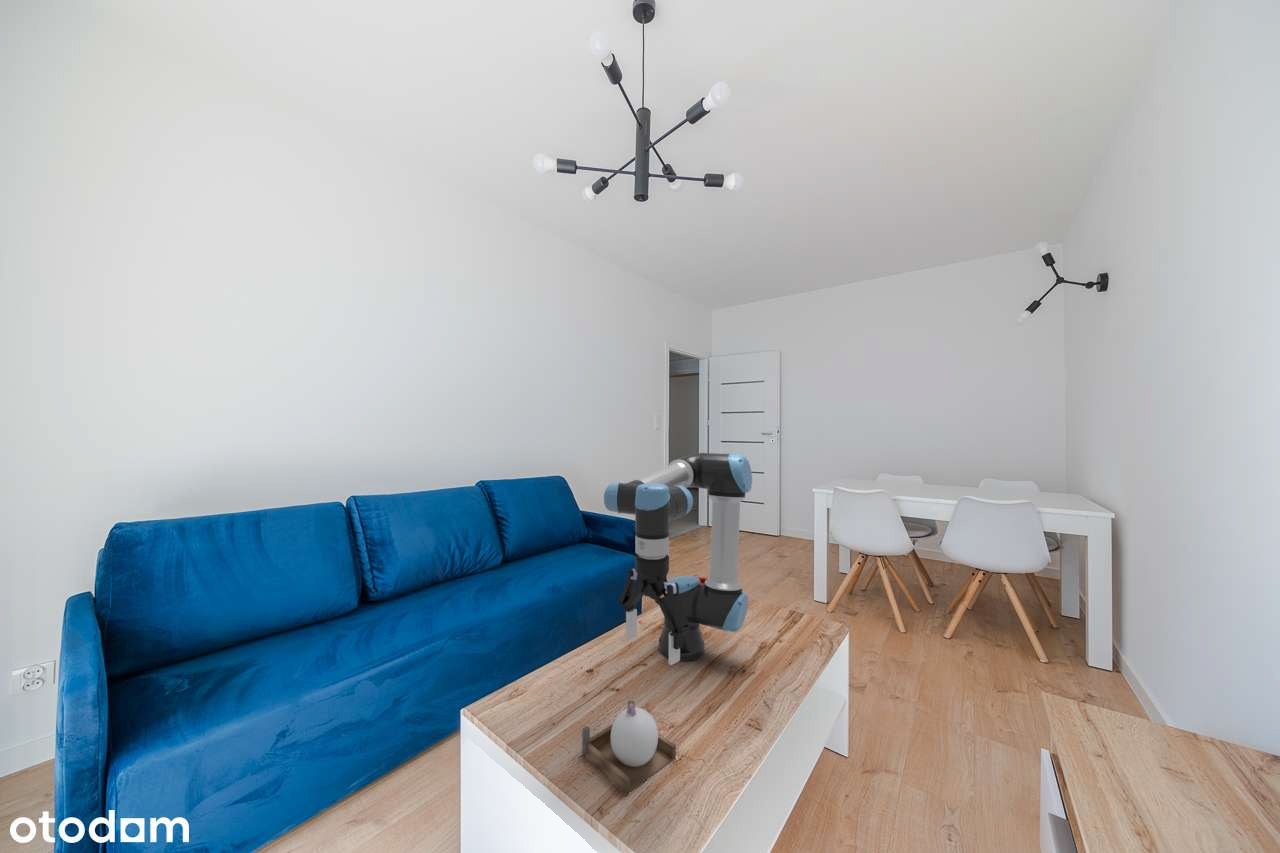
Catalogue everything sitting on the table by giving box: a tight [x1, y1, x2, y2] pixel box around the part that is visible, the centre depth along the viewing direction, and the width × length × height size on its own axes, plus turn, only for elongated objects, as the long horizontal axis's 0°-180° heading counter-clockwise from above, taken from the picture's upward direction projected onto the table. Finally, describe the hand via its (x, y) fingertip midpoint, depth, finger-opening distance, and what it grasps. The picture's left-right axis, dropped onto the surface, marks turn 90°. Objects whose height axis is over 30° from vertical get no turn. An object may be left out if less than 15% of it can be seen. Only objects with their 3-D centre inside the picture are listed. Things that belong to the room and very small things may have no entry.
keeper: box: [581, 700, 677, 796], centre depth 95 cm, size 15×15×6 cm
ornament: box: [611, 703, 659, 767], centre depth 94 cm, size 10×10×12 cm
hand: (651, 649), depth 96 cm, fingers open, 13 cm apart
